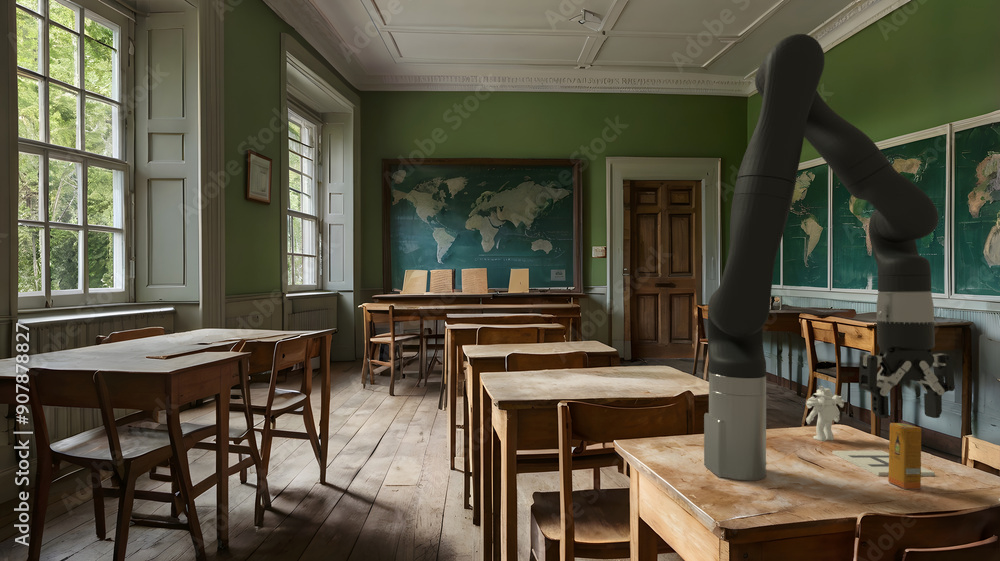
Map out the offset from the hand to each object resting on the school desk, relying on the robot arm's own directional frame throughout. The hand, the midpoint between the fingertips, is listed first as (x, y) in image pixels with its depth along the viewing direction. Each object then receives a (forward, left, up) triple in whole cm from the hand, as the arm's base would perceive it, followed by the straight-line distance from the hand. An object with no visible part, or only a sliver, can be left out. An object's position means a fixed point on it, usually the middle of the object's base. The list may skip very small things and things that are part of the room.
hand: (907, 417), depth 86 cm
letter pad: (+4, +11, -11) cm, 16 cm away
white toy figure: (+4, +27, -12) cm, 29 cm away
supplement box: (0, 0, -12) cm, 12 cm away
